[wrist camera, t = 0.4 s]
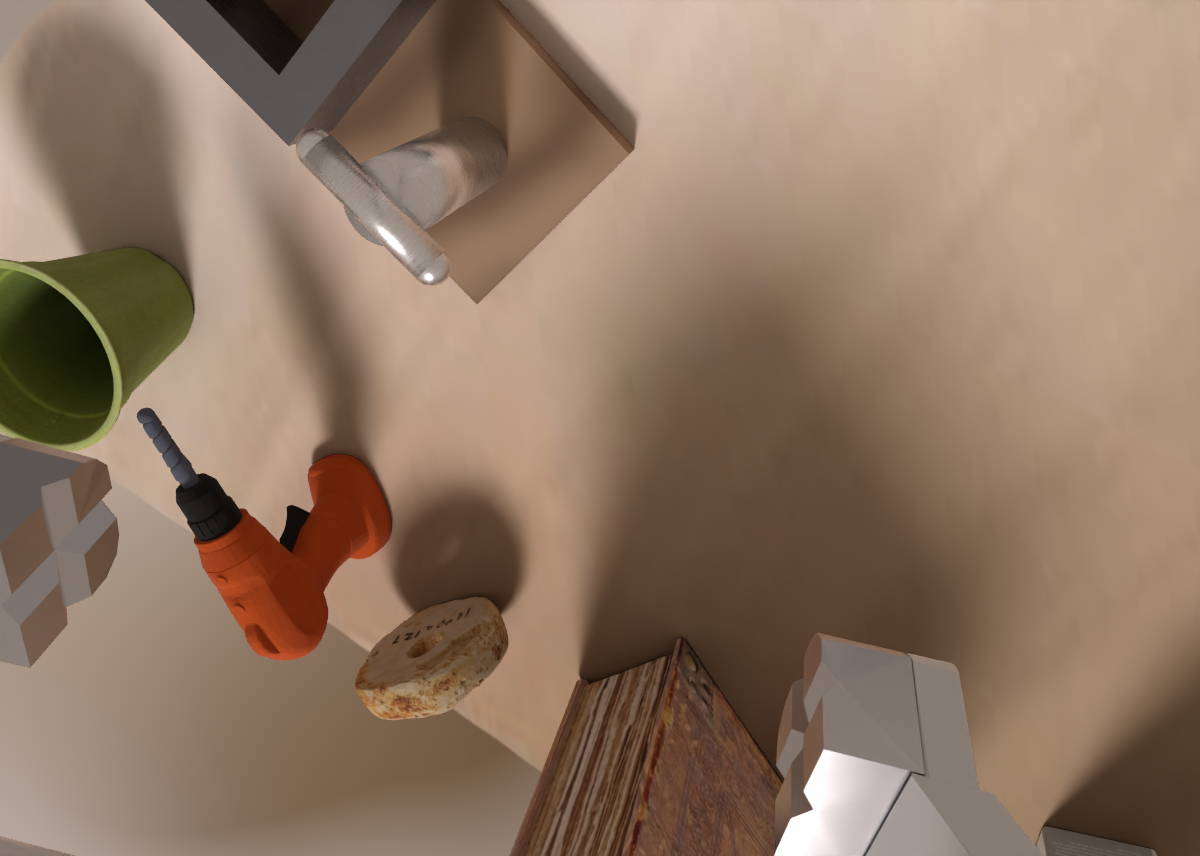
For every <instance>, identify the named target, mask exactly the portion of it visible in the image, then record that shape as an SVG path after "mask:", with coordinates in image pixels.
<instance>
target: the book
mask: <svg viewBox="0 0 1200 856" xmlns="http://www.w3.org/2000/svg"><path fill="white" fill-rule="evenodd" d="M782 784H783V781H782V780H781V778H780V777H779V775H778V774H777V772H776V771H775V769H774V768H773V766H772V765H771V763H770V762H769V760H768V759H767V758H766V756H765V755H764V753H763V752H762V750H761V749H760V747H759V746H758V744H757V743H756V741H755V740H754V738H753V737H752V735H751V734H750V732H749V731H748V730H747V728H746V727H745V725H744V724H743V722H742V721H741V719H740V718H739V716H738V715H737V713H736V712H735V710H734V709H733V707H732V706H731V704H730V703H729V702H728V700H727V699H726V697H725V696H724V694H723V693H722V691H721V690H720V688H719V687H718V685H717V684H716V682H715V681H714V679H713V678H712V676H711V675H710V674H709V672H708V671H707V669H706V668H705V666H704V665H703V663H702V662H701V660H700V659H699V657H698V656H697V654H696V653H695V652H694V650H693V649H692V647H691V646H690V644H689V643H688V641H687V640H686V638H680V639H677V640H676V644H675V648H674V652H673V653H672V654H670V655H667V656H664V657H662V658H659V659H656V660H654V661H651V662H648V663H646V664H643V665H640V666H638V667H635V668H632V669H630V670H627V671H624V672H622V673H619V674H616V675H614V676H611V677H608V678H606V679H603V680H600V681H598V682H595V683H592V684H590V685H589V683H588V682H587V681H586V680H585V679H581V680H579V681H577V683H576V685H575V688H574V690H573V693H572V695H571V698H570V701H569V703H568V706H567V708H566V711H565V714H564V716H563V719H562V721H561V724H560V726H559V729H558V732H557V734H556V737H555V739H554V742H553V745H552V747H551V750H550V752H549V755H548V757H547V760H546V763H545V765H544V768H543V770H542V773H541V776H540V778H539V781H538V783H537V786H536V789H535V791H534V794H533V796H532V799H531V802H530V804H529V807H528V809H527V812H526V815H525V817H524V820H523V822H522V825H521V827H520V830H519V832H518V835H517V838H516V840H515V843H514V846H513V848H512V851H511V853H510V856H774V838H775V800H776V798H777V796H778V793H779V791H780V789H781V786H782Z"/></svg>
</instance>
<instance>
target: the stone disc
mask: <svg viewBox="0 0 1200 856" xmlns="http://www.w3.org/2000/svg"><path fill="white" fill-rule="evenodd" d="M507 648H508V635H507V630H506V627H505V624H504V621H503V619H502V617H501V614H500V613H499V611H498V609H497V607H496V606H495V605H494V604H493V603H492V602H491V601H489V600H488V599H486V598H484V597H470V598H466V599H464V600H453V601H449V602H446V603H443V604H437V605H433V606H431V607H428V608H426V609H425V610H422V611H421V612H419V613H417V614H415V615H413V616H412V617H410V618H409V619H408V620H406V621H404V622H403V623H402V624H400V625H399V626H398V627H397V628H396V629H394V630H393V631H392V632H391V633H389V634H388V635H386V636H385V637H383V638H382V639H381V640H380V641H379V642H378V643H377V644H376V645H375V646H374V648H373V649H372V650H371V653H370V655H369V656H368V658H367V659H366V663H364V665H363V666H362V667H361V669H360V671H359V673H358V676H357V678H356V683H355V687H356V691H357V692H358V694H359V696H360V698H361V700H362V701H363V703H364V704H365V706H366V707H367V708H368V709H369V710H370V711H371V712H372V713H373V714H374V715H376V716H377V717H379V718H381V719H387V720H399V719H406V718H415V717H417V718H422V717H427V716H429V715H435V714H441V713H443V712H447V711H449V710H450V709H452V708H454V707H455V706H457V705H458V704H460V703H461V702H462V701H463V700H464V699H465V698H466V696H467V695H468V694H469V693H470V692H471V691H472V690H473V689H474V688H477V687H479V686H480V684H481V683H482V682H483V681H484V680H485V679H486V678H488V677H489V676H490V674H491V673H492V672H493V671H494V670H495V669H496V667H497V666H498V664H499V663H500V662H501V660H502V658H503V656H504V655H505V653H506V651H507Z"/></svg>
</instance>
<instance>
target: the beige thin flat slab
mask: <svg viewBox="0 0 1200 856" xmlns="http://www.w3.org/2000/svg"><path fill="white" fill-rule="evenodd" d="M263 1H264V2H265V3H266V4H267V5H268V6H269V7H270V8H271V9H272V10H273V11H274V12H275V13H276V14H277V15H278V16H279V17H280V19H281V20H282V21H283V22H284V23H285V24H286V25H287V26H288V27H289V28H290V29H291V30H292V31H293V32H294V33H295V34H296V35H297V36H298V37H299V38H300V39H301V40H302V41H303V42H304V41H305V40H306V38H307V37H308V36H309V34H310V33H311V31H312V30H313V29H314V27H315V26H316V25H317V23H318V22H319V21H320V19H321V18H322V17H323V15H324V14H325V13H326V11H327V10H328V9H329V7H330V6H331V4H332V3H333V2H334V0H263ZM465 117H477V118H481V119H483V120H486V121H487V122H489V123H491V124H492V125H493V126H494V127H495V128H496V129H497V130H498V131H499V132H500V134H501V135H502V137H503V139H504V141H505V143H506V146H507V151H508V163H507V167H506V170H505V173H504V175H503V176H502V178H501V179H500V180H499V181H498V182H497V183H496V184H495V185H493V186H492V187H490V188H489V189H487V190H486V191H484V192H483V193H481V194H480V195H478V196H477V197H475V198H474V199H472V200H471V201H469V202H468V203H466V204H464V205H463V206H461V207H460V208H458V209H457V210H455V211H454V212H452V213H451V214H449V215H448V216H446V217H445V218H443V219H442V220H440V221H439V222H437V223H436V224H434V225H433V226H431V227H430V228H428V229H427V230H425V231H426V232H427V233H428V234H429V235H430V236H431V237H432V238H433V239H434V240H435V241H436V243H437V244H438V245H439V246H440V247H441V248H442V249H443V250H444V251H445V252H446V253H447V254H448V256H449V258H450V260H451V272H450V275H449V276H450V277H451V278H452V279H453V280H454V281H455V282H456V283H457V284H458V285H459V286H460V287H461V289H462V290H463V291H464V292H465V293H466V294H467V295H468V296H469V297H470V298H471V299H472V300H473V301H474V302H475V303H476V304H478V303H479V302H480V301H481V300H482V299H483V298H484V297H485V296H486V295H487V294H488V293H489V292H490V291H491V290H492V289H493V288H494V287H495V286H496V285H497V284H498V283H499V282H500V281H501V280H502V279H503V278H504V277H505V276H506V275H507V274H508V273H509V272H510V271H511V270H512V269H513V268H515V267H516V266H517V265H518V264H519V263H520V262H521V261H522V260H523V259H524V258H525V257H526V256H527V255H528V254H529V253H530V252H531V251H532V250H533V249H534V248H535V247H536V246H537V245H538V244H539V243H540V242H541V241H542V240H543V239H544V238H545V237H546V236H547V235H548V234H549V233H550V232H551V231H552V230H553V229H554V228H555V227H556V226H557V225H558V224H559V223H560V222H561V221H562V220H563V219H564V218H565V217H566V216H567V215H568V214H569V213H570V212H571V211H572V210H573V209H574V208H575V207H576V206H577V205H578V204H579V203H580V202H581V201H582V200H583V199H584V198H585V197H586V196H587V195H588V194H589V193H590V192H591V191H592V190H593V189H594V188H595V187H596V186H597V185H598V184H600V183H601V182H602V181H603V180H604V179H605V178H606V177H607V176H608V175H609V174H610V173H611V172H612V171H613V170H614V169H615V168H616V167H617V166H618V165H619V164H620V163H621V162H622V161H623V160H624V159H625V158H626V157H627V156H628V155H629V154H630V153H631V152H632V151H633V150H634V148H633V147H632V146H631V145H630V144H629V143H628V141H627V140H626V139H625V138H624V137H623V136H622V135H621V134H620V133H619V132H618V130H617V129H616V128H615V127H614V126H613V125H612V124H611V123H610V122H609V121H608V119H607V118H606V117H605V116H604V115H603V114H602V113H601V112H600V111H599V110H598V109H597V107H596V106H595V105H594V104H593V103H592V102H591V101H590V100H589V99H588V98H587V96H586V95H585V94H584V93H583V92H582V91H581V90H580V89H579V88H578V87H577V85H576V84H575V83H574V82H573V81H572V80H571V79H570V78H569V77H568V76H567V74H566V73H565V72H564V71H563V70H562V69H561V68H560V67H559V66H558V65H557V64H556V62H555V61H554V60H553V59H552V58H551V57H550V56H549V55H548V54H547V53H546V51H545V50H544V49H543V48H542V47H541V46H540V45H539V44H538V43H537V42H536V40H535V39H534V38H533V37H532V36H531V35H530V34H529V33H528V32H527V31H526V30H525V28H524V27H523V26H522V25H521V24H520V23H519V22H518V21H517V20H516V19H515V17H514V16H513V15H512V14H511V13H510V12H509V11H508V10H507V9H506V8H505V6H504V5H503V4H502V3H501V2H500V1H499V0H437V1H436V2H435V3H434V4H433V6H432V7H431V8H430V9H429V11H428V12H427V13H426V14H425V16H424V17H423V18H422V19H421V21H420V22H419V23H418V24H417V26H416V27H415V28H414V29H413V31H412V32H411V33H410V34H409V36H408V37H407V38H406V39H405V41H404V42H403V43H402V44H401V46H400V47H399V48H398V49H397V51H396V52H395V53H394V54H393V56H392V57H391V58H390V59H389V61H388V62H387V63H386V64H385V65H384V67H383V68H382V69H381V70H380V72H379V73H378V74H377V75H376V77H375V78H374V79H373V80H372V82H371V83H370V84H369V85H368V87H367V88H366V89H365V90H364V92H363V93H362V94H361V95H360V97H359V98H358V99H357V100H356V102H355V103H354V104H353V105H352V107H351V108H350V109H349V110H348V112H347V113H346V114H345V115H344V117H343V118H342V119H341V120H340V122H339V123H338V124H337V125H336V127H335V128H334V129H333V130H332V131H329V133H330V134H331V135H332V136H333V137H334V138H335V139H336V140H337V141H338V142H339V143H340V144H341V145H342V146H343V147H344V148H345V149H346V150H347V151H348V152H349V153H350V154H351V155H352V156H353V157H354V158H355V159H356V160H357V161H358V162H359V163H362V162H364V161H366V160H368V159H370V158H373V157H375V156H377V155H379V154H382V153H384V152H386V151H388V150H391V149H393V148H395V147H397V146H400V145H402V144H404V143H406V142H409V141H411V140H413V139H415V138H418V137H420V136H422V135H425V134H427V133H429V132H431V131H434V130H436V129H438V128H440V127H443V126H445V125H447V124H449V123H452V122H454V121H456V120H458V119H461V118H465Z"/></svg>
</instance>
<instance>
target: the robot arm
mask: <svg viewBox="0 0 1200 856" xmlns="http://www.w3.org/2000/svg"><path fill="white" fill-rule="evenodd" d="M111 489H112V486H111V481H110V476H109V472H108V467H107V465H106V464H104V463H102V462H101V461H99V460H97V459H94V458H90V457H87V456H83V455H79V454H75V453H72V452H68V451H64V450H61V449H57V448H53V447H49V446H46V445H42V444H38V443H34V442H31V441H27V440H23V439H19V438H12V437H8V436H4V435H1V434H0V661H2V662H7V663H11V664H15V665H20V666H24V667H29V668H30V667H31V666H32V665H33V664H34V663H35V661H36V660H37V659H38V658H39V657H40V656H41V655H42V653H43V652H44V651H45V650H46V649H47V648H48V646H49V645H50V644H51V643H52V642H53V641H54V639H55V638H56V637H57V636H58V635H59V634H60V632H61V631H62V630H63V629H64V628H65V627H66V625H67V609H66V607H67V606H69V605H72V604H74V603H76V602H79V601H81V600H83V599H86V598H88V597H90V596H92V595H93V593H94V592H95V591H96V590H97V589H98V587H99V586H100V585H101V583H102V582H103V581H104V580H105V579H106V577H107V575H108V573H109V570H110V568H111V566H112V563H113V561H114V559H115V557H116V554H117V547H118V539H119V531H118V524H117V518H116V517H115V515H114V514H113V513H112V512H111V511H110V509H109V508H108V507H107V506H106V505H105V503H104V502H103V501H102V499H103V498H104V496H105V495H106V494H107V493H108V492H109V491H110V490H111ZM776 766H777V768H778V769H779V771H780V772H781V774H782V775H783V777H784V782H783V784H782V786H781V789H780V791H779V793H778V796H777V798H776V800H775V838H774V856H1043V854H1042V853H1041V852H1040V851H1039V849H1038V848H1037V847H1036V846H1035V845H1034V843H1033V842H1032V841H1031V840H1030V838H1029V837H1028V836H1027V835H1026V833H1025V832H1024V831H1023V830H1022V828H1021V827H1020V826H1019V825H1018V823H1017V822H1016V821H1015V820H1014V818H1013V817H1012V816H1011V815H1010V814H1009V812H1008V811H1007V810H1006V809H1005V807H1004V806H1003V805H1002V804H1001V802H1000V801H999V800H998V799H997V797H996V796H995V795H994V794H992V793H988V792H985V791H981V790H980V789H979V783H978V778H977V772H976V766H975V761H974V755H973V749H972V744H971V738H970V732H969V727H968V721H967V715H966V709H965V704H964V698H963V692H962V687H961V681H960V675H959V671H958V670H957V668H956V667H955V665H954V664H953V663H949V662H945V661H940V660H936V659H931V658H927V657H923V656H918V655H914V654H909V653H907V654H905V653H903V652H899V651H895V650H891V649H886V648H882V647H878V646H873V645H869V644H865V643H860V642H856V641H852V640H848V639H843V638H839V637H835V636H830V635H826V634H822V633H817V632H816V634H815V635H814V636H813V638H812V639H811V640H810V643H809V645H808V647H807V650H806V652H805V654H804V677H803V678H801V679H799V680H797V681H795V682H793V683H792V686H791V689H790V691H789V694H788V697H787V699H786V702H785V705H784V709H783V714H782V718H781V722H780V726H779V734H778V742H777V759H776ZM0 856H74V855H70V854H66V853H62V852H59V851H54V850H51V849H47V848H43V847H39V846H36V845H32V844H28V843H24V842H20V841H16V840H13V839H9V838H5V837H1V836H0Z"/></svg>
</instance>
